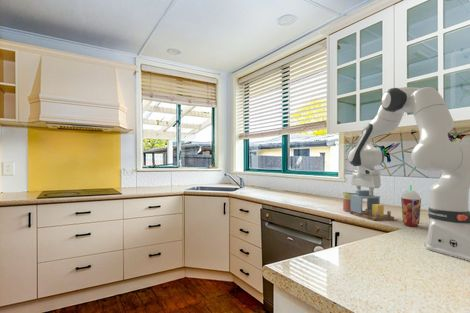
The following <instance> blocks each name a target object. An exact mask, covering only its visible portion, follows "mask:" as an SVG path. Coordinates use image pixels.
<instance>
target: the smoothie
mask: <svg viewBox="0 0 470 313" xmlns="http://www.w3.org/2000/svg"><path fill="white" fill-rule="evenodd" d="M400 198H401V199H400V201H401V202H400V203H401V213H402V214H401V216H402V217H401V218H402V222H403V224H404V226H407V227H413V228H416V227H418V226H419V224H420V219H421V218H420V217H421V205H422V203H421V202H422V198H421V197H420V194H419V193H418V192H417V191H415V190H413V189H412V184H410V185H409V189H408V190H407V191H405V192H403V194H402V195H401V197H400Z"/></svg>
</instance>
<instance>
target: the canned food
mask: <svg viewBox="0 0 470 313" xmlns="http://www.w3.org/2000/svg"><path fill="white" fill-rule="evenodd" d="M342 194H343V196H342V199H343V200H342V203H343V204H342V210H343V212H346V213H350V211H351V195H356V190H346V191H345V190H343V191H342Z"/></svg>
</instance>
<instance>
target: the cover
mask: <svg viewBox="0 0 470 313" xmlns="http://www.w3.org/2000/svg"><path fill="white" fill-rule="evenodd" d="M369 190H370V189H368V190H367V189H366V190H365V189H364V190H362V189H361V190H357V189H356V190H355V191H356V195H351V211H353V212H357V213H361V214H362V211H363V200H364V199H366V201H367V202H366V209H369V211H372V204H380V203H381V201H380V197H381V196H380V195H374V191H373V192H372V195H368V192H369ZM380 205H381V204H380Z"/></svg>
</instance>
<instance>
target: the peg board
mask: <svg viewBox="0 0 470 313" xmlns="http://www.w3.org/2000/svg"><path fill="white" fill-rule="evenodd" d="M386 212H387V214H384V216H380V217H379V212H376V216H373V215H372V211H369V209H367V208H365V210H362V214H361V213H357V212H353V211H350V212H349V213H350V215H353V216H356V217H360V218H364V219H366V218H367V220H369V221H370V220H371V221H373V222H375V221H376V222H377V221H378V222H379V221H391V220H392V221H395V216H392V212H391V210H387V211H386Z"/></svg>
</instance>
